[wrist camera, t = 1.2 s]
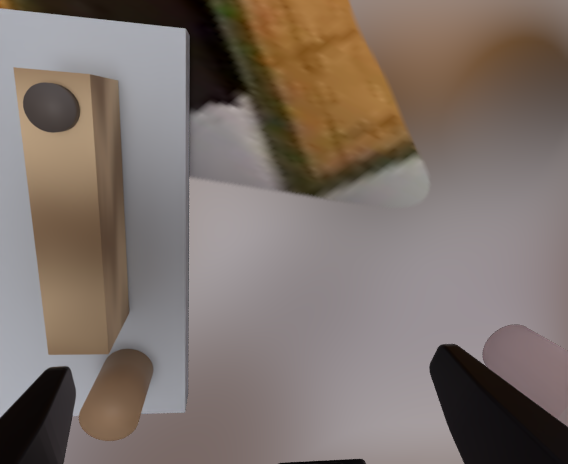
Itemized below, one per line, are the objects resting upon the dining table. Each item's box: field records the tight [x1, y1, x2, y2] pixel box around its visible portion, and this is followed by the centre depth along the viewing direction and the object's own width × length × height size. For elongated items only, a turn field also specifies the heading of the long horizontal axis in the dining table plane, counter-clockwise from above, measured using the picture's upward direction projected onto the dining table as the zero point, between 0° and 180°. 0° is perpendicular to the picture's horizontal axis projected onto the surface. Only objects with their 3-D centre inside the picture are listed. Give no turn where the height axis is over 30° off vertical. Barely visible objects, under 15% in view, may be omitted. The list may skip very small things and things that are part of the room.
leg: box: [13, 67, 129, 355], centre depth 16 cm, size 11×2×4 cm, turn 175°
